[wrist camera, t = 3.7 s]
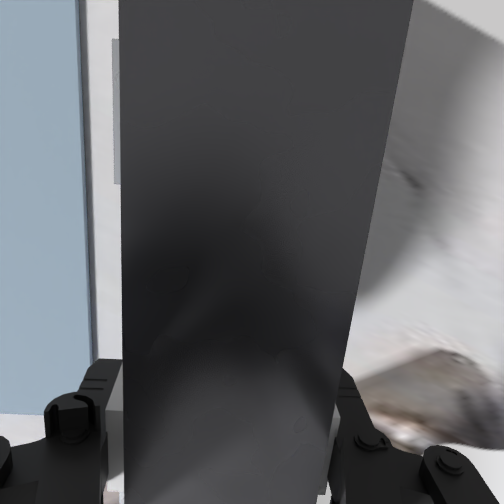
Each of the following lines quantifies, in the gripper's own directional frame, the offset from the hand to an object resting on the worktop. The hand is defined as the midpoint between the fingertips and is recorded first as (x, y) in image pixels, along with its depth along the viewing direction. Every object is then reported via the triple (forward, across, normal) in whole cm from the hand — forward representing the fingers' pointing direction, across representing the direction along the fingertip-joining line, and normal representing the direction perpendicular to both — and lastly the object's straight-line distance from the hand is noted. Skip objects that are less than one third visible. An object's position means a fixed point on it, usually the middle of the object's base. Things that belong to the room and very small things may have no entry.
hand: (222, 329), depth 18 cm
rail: (-2, 0, 0) cm, 2 cm away
